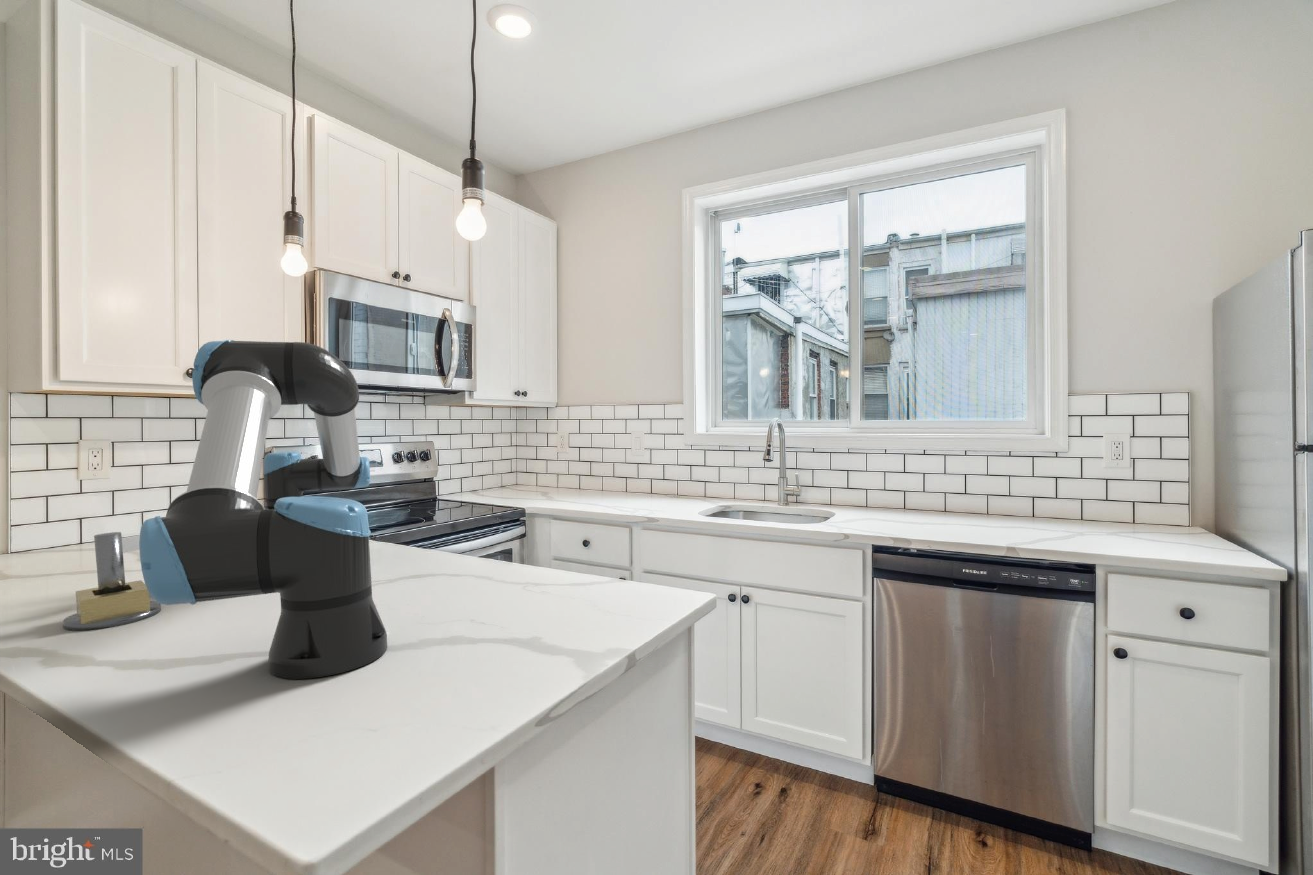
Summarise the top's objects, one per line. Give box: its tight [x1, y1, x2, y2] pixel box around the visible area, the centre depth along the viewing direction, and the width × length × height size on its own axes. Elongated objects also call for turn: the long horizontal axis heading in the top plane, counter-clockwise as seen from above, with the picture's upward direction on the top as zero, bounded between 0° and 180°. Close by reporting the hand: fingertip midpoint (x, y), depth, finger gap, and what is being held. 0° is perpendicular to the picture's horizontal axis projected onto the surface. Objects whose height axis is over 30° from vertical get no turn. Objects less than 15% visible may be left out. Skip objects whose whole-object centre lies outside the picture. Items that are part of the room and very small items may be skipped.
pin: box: [93, 531, 126, 595], centre depth 109 cm, size 4×4×14 cm
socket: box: [62, 580, 162, 632], centre depth 109 cm, size 13×13×5 cm
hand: (138, 548), depth 114 cm, fingers open, 13 cm apart
